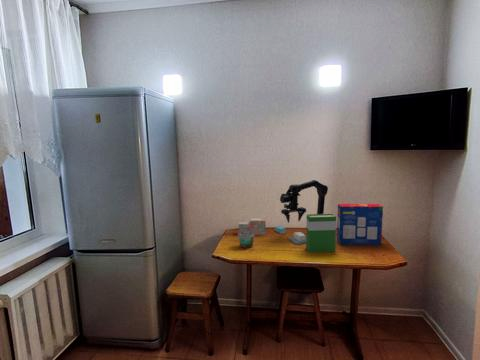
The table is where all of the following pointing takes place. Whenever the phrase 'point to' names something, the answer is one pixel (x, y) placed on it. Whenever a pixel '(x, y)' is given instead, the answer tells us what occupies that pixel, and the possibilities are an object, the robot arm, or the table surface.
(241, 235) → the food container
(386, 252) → the table surface
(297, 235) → the cream brick
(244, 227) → the stack of blocks
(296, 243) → the baseplate
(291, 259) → the table surface
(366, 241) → the blue product box
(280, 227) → the teal brick
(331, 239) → the green cereal box
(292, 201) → the robot arm
